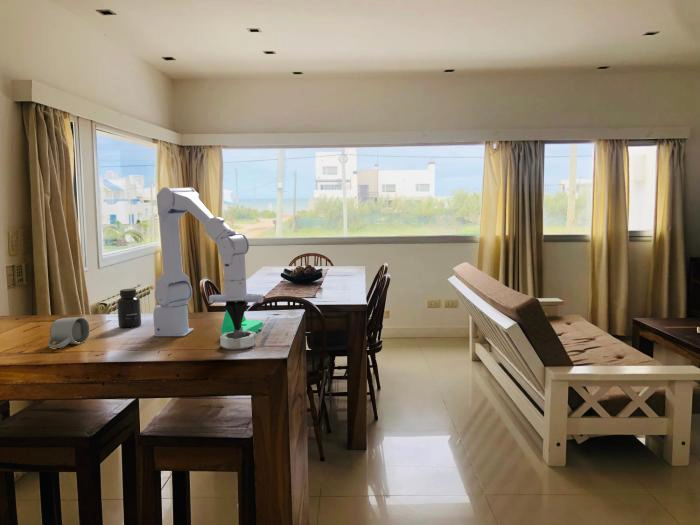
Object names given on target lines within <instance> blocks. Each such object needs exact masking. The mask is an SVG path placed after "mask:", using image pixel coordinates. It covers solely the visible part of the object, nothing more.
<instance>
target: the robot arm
mask: <svg viewBox="0 0 700 525" xmlns="http://www.w3.org/2000/svg"><path fill="white" fill-rule="evenodd" d="M156 204H157V205H156V206H157V214H158V220H159V221H158V222H159V233H160V246H161V261H162V270H163V272H162V274H161V275H160V276H159V277H158V278H157V279H156V280H155V290H154V298H155V301H156V302H157V303H158V305H155V306H154V309H153V328H154V334H153V337H185V336H186V335H188V334H189V333H191V332H192V331H194V330H195V329H194V328H193V327H189V312H188V303H190V300H191V298H192V297H193V287H192V285H191V282H190V276H188V274H186V273H184V272H183V265H182V264H183V263H182V250H181V239H180V237H181V236H180V224H179V220H180V218H181V217H182V216H183V215H185V214H186V213H188V212H189V213H190V214H191V215H192V216H193V217H194V218H195V219H196V220H198V221H199V222H200V223H201V224H202V225H203V226H204V232H205V233H206V235H207V236H208V237H209V238H210V239H211V240H212V241H213V242H214V243H215V244H216V245H217V252H218V254H219V255H220V257H221V258H220V259H221V263H222V264H223V278H224V294H223V293H222V294H211V295H209V296H208V300H209V304H214V303H215V304H217V303H220V304H221V303H222V304H223V303H225V305H224V308H225V311H226V310H227V311H228V313H229V315H230V317H231V319H232V322H233V325H234V329H240V328H241V325H242V319H243V315H244V316H245V312H246V309H247V306H248V303H258V304H262V303H263V302H264V294H260V293H259V294H256V293H254V294H253V293H247V274H246V254H247V253H248V252H249V248H250V244H249V241H248V240H249V239H248V238H247V237H246V235H245V234H243V233H238V232H235V230H234V229H232V227H230V226H229V225H228V224H227V223H226V221H225V219H224V218H223V217H220V216H214V215H213V214H212V213H211V212H210V210H209V209H208V208H207V207H206V206H205V205H204V203H203V202H202V201H201V200H200V194H199V192H197V191H196V190H195V189H194V188H193V187H192V186H187V187H165V186H164V187H161V189H160V190H159V192H158V193H157V194H156Z"/></svg>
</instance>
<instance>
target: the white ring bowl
mask: <svg viewBox="0 0 700 525" xmlns="http://www.w3.org/2000/svg"><path fill="white" fill-rule="evenodd" d="M219 339H220V340H219V341H220V342H219V343H220V346H221V347H222V349H224V350H227V351H242V350H247V349H252V348H253V347H255V346H256V343H257V333H255V332H252V331H243V337H242V338H234V337H233V331H232V332H227V333H224V334H223V335H222V334H221V335H220V336H219Z"/></svg>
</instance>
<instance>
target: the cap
mask: <svg viewBox="0 0 700 525" xmlns="http://www.w3.org/2000/svg"><path fill="white" fill-rule="evenodd" d="M233 337H234V338H242V337H243V327H241V328H240V329H235V330H233Z"/></svg>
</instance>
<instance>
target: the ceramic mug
mask: <svg viewBox="0 0 700 525" xmlns="http://www.w3.org/2000/svg"><path fill="white" fill-rule="evenodd" d="M90 329H91V328H90V324H89V322H88V320H87V319H86V318H85V317H83V316H78V317H77V316H76V317H61V318H59V319H56V320H54V321H53V322H52V323H51V325H50V327H49V335H50V338H49V339H48V340H47V345H48V347H49V348H50V347H52V348H60V349H62V348H64V347H66V346H67V345H81V344H80V343H82V344H84V343H85V342H86V341H87V340H88V339H89V337H90ZM75 341H77V342H80V343H77V342H75ZM54 342H55V343H57V344H53V343H54ZM83 342H84V343H83ZM61 347H62V348H61Z"/></svg>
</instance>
